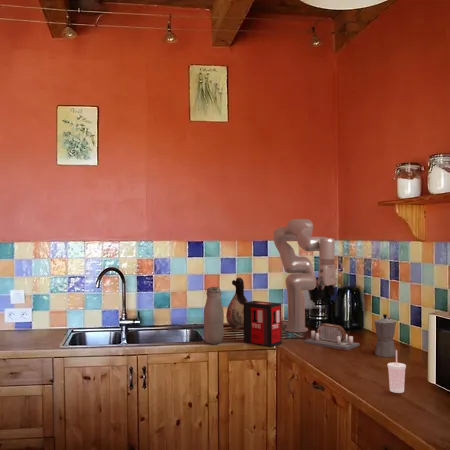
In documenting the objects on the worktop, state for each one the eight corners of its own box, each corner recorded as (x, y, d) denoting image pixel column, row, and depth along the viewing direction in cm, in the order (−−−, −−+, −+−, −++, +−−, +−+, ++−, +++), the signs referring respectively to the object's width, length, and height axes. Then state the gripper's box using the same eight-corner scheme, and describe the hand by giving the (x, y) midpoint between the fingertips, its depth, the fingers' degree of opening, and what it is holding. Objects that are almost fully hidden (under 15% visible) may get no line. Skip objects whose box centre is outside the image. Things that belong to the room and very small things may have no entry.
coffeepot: (393, 359, 220) (392, 317, 220) (371, 356, 225) (370, 315, 225) (400, 351, 234) (399, 312, 234) (379, 349, 238) (378, 310, 239)
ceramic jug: (222, 328, 293) (222, 276, 294) (248, 327, 298) (247, 275, 298) (232, 334, 277) (231, 278, 277) (258, 332, 282) (258, 277, 282)
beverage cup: (402, 387, 180) (401, 348, 180) (409, 393, 174) (408, 352, 174) (385, 388, 180) (384, 348, 180) (391, 393, 174) (390, 352, 174)
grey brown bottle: (206, 346, 248) (206, 288, 248) (201, 342, 258) (201, 286, 258) (226, 345, 251) (225, 287, 251) (220, 340, 261) (220, 285, 261)
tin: (346, 343, 246) (346, 325, 246) (343, 344, 244) (342, 326, 244) (319, 339, 256) (319, 322, 257) (316, 340, 254) (315, 323, 254)
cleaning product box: (243, 342, 256) (243, 302, 256) (254, 339, 263) (254, 300, 263) (271, 347, 245) (270, 305, 245) (281, 344, 252) (281, 303, 252)
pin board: (304, 343, 254) (304, 332, 254) (317, 339, 263) (317, 328, 263) (347, 350, 238) (346, 338, 238) (359, 345, 247) (359, 334, 247)
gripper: (323, 264, 249) (323, 299, 249) (342, 261, 261) (341, 295, 262) (310, 263, 254) (310, 297, 254) (329, 260, 266) (329, 293, 267)
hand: (326, 296), depth 258 cm, fingers open, 9 cm apart
